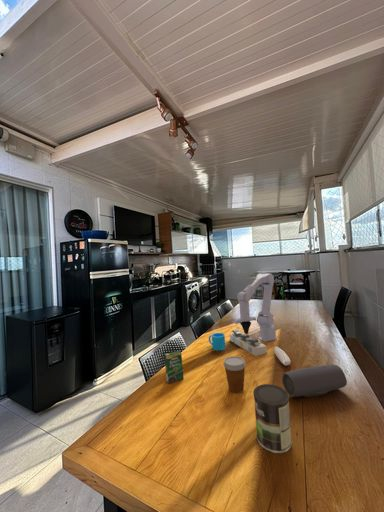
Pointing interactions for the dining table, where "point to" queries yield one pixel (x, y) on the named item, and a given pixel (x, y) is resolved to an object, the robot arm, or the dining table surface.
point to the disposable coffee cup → (235, 373)
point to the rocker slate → (253, 340)
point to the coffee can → (272, 418)
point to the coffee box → (173, 366)
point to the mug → (218, 341)
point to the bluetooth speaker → (314, 380)
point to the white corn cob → (282, 356)
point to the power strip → (249, 345)
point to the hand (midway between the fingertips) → (246, 333)
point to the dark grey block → (236, 332)
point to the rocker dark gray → (244, 336)
